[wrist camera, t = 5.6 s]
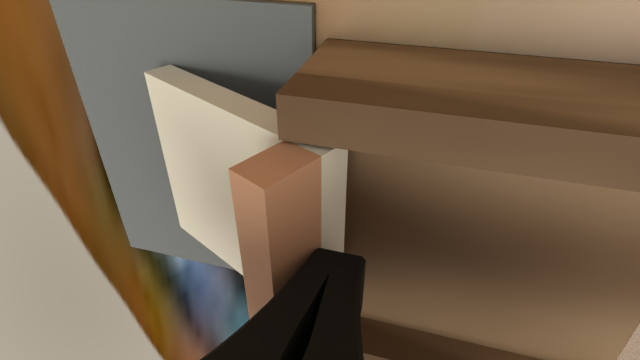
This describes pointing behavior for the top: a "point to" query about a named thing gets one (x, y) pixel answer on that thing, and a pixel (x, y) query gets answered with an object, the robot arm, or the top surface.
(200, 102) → the lid
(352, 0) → the top surface
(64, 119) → the top surface
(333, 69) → the walnut box
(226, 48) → the slate mat
